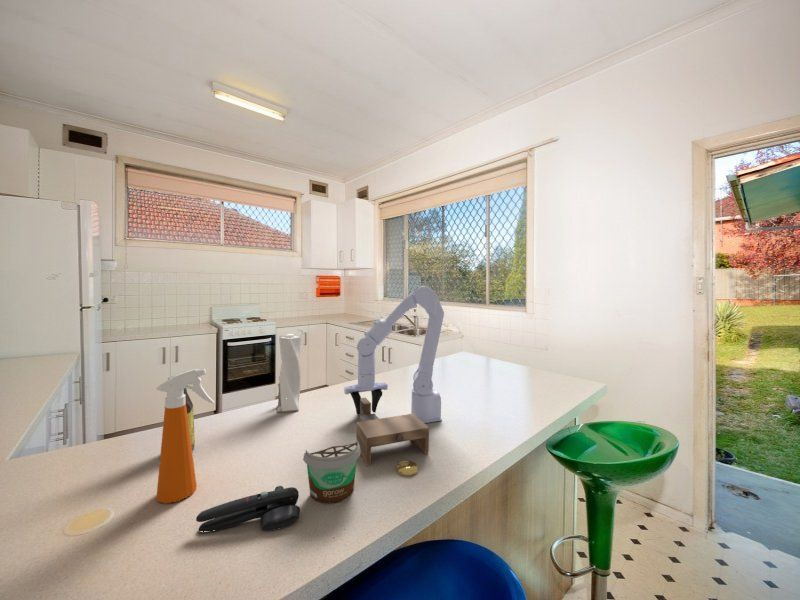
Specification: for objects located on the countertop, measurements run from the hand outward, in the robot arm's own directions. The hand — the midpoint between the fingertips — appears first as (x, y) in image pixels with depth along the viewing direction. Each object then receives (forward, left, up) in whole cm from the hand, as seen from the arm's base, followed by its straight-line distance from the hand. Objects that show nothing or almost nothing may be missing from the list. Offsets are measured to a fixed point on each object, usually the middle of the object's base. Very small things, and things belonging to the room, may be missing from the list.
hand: (366, 412), depth 112 cm
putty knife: (0, +7, -1) cm, 7 cm away
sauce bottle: (+52, +5, -2) cm, 52 cm away
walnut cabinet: (0, +24, -1) cm, 24 cm away
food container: (+18, +38, -2) cm, 42 cm away
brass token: (0, +34, -2) cm, 34 cm away
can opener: (+34, +40, -2) cm, 52 cm away
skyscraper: (+23, -16, -2) cm, 28 cm away
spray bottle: (+47, +25, -2) cm, 53 cm away
